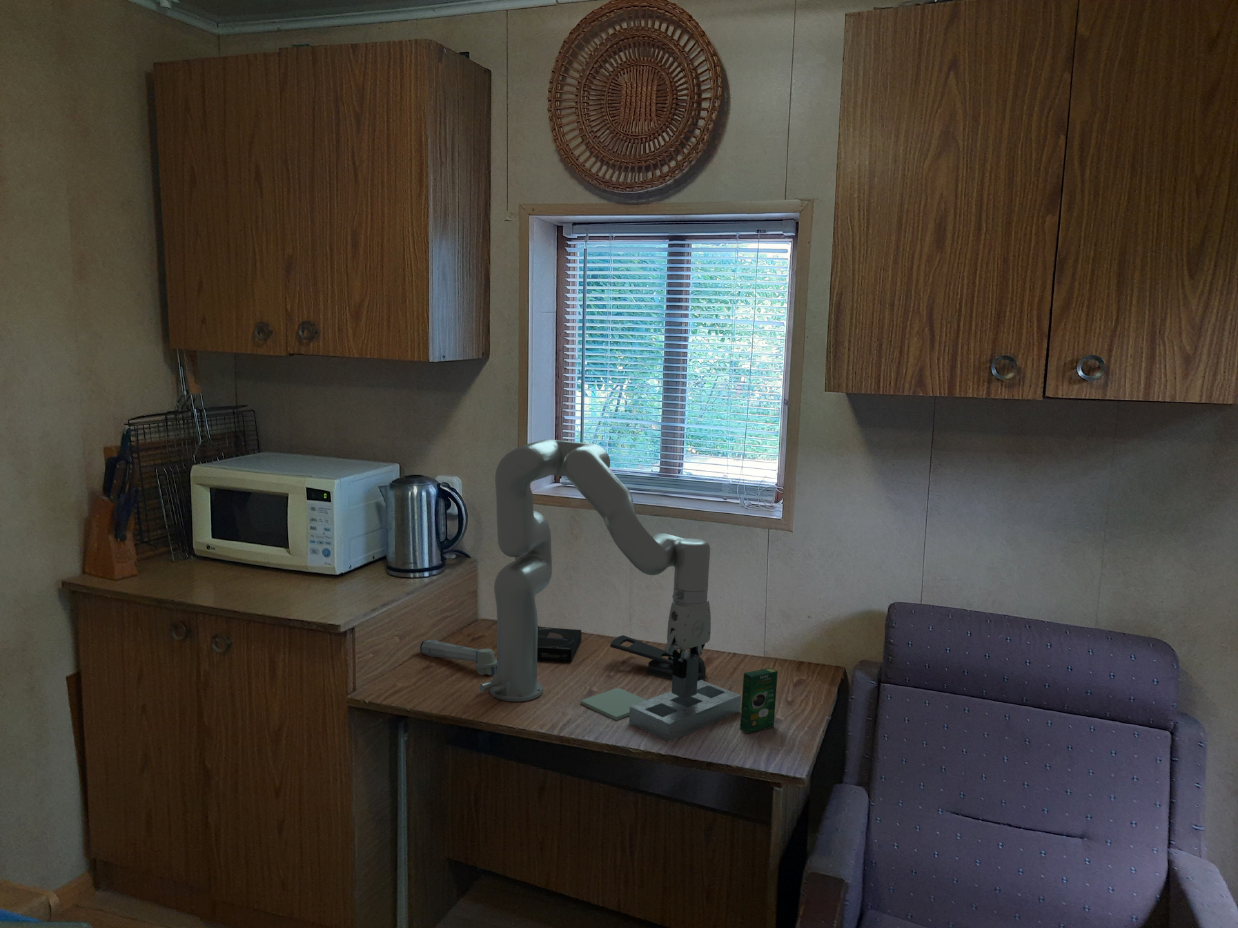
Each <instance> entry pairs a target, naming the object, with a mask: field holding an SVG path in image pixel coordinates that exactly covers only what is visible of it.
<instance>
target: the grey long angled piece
mask: <svg viewBox="0 0 1238 928" xmlns="http://www.w3.org/2000/svg"><path fill="white" fill-rule="evenodd" d="M419 652H420V653H421V654H422V655H423V654H424V656H428V657H431V658H435V657H436V658H442V659H451V660H459V661H467V662H474V667H475V669H476V673H477V674H478V675H479V676H485V675H488V676H493V675H495V674H497V658H495V657H496V656H495V653H494V650H493V649H491V648H481V649H478V648H472V647H468V646H463V645H457V644H452V643H447V642H443V641H439V640H437V639H433V640H430V639H425V640H423V641H422V642H421V643H420V646H419Z"/></svg>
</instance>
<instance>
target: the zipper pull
mask: <svg viewBox="0 0 1238 928" xmlns="http://www.w3.org/2000/svg"><path fill="white" fill-rule="evenodd" d="M623 643H629V644H631V645H629V646H624V645H623ZM610 648H613V649H616V650H619V651H623V652H627V653H630V654H634V655H636V656H640V657H642V658H647V659H649V660H650V661H649V662H648V663H647V664H648V665H647V671H648V674H649V675H651V676H654V677H659V678H663V679H667V680H670V681H672V677H673V674H672V672H673V658H671V655H670V654H669V653H668V652H666V651H665V650H664V649H662V648H659V647H656V646H654V645H651V644H648V643H646V642H643V641H640V640H637V639H635V638H632V637H629V636H626V635H624V634H622V635H619V636H617V637H615V638H614V639H613V640H612V641H611V642H610ZM665 657H667V658H665ZM705 665H706V663H705V661H704V659H702V657H700V661H699V673H698V681H700V680H703V681H704V680H705V679H706V673H707V671H706V666H705Z"/></svg>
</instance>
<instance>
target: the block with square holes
mask: <svg viewBox="0 0 1238 928" xmlns="http://www.w3.org/2000/svg"><path fill="white" fill-rule="evenodd" d="M741 706H742V695H741V694H739V693H736V692H734V691H731V690H729V689H726V688H723V687H721V686H719V685H715V684H713V683H710V682H707V681H704V680H700V681H698V682H697V694H696V695H693V696H691V697H688V698H685V699H684V698H682V697H680V696H677V695H675V694H673V693H672V690H670V691H668V692H665V693H662V694H660V695H656V696H654V697H651V698H648V699H646V700H645V701H643V702H640V703H637V704H635V705H632V706H630V711H629V716H628V717H629V718H628V724H629V725H630V726H631V725H632V726H633V725H634V726H633V727H635V726H636V728H638V729H640V728H642V729H643V731H644V730H646V731H647V733H648V732H650V733H649V734H651V733H652V734H651V735H653V734H654V735H653V736H655V735H656V736H655V737H657V736H658V737H657V738H659V737H661V738H662V739H661V738H660V739H661V740H664V739H665V740H664V741H666V742H668V741H670V742H672V741H674V739H675V740H678V739H680V738H681V737H683V736H687V735H689V734H691V733H694V732H696V731H698V730H701V729H703V728H705V727H708V726H709V725H712V724H714V723H717V722H719V721H722V720H724V719H726V718H729V717H731V716H734V715H736V714H738V713H741ZM642 729H641V730H642ZM646 731H645V732H646Z"/></svg>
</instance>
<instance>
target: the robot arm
mask: <svg viewBox="0 0 1238 928" xmlns="http://www.w3.org/2000/svg"><path fill="white" fill-rule="evenodd" d="M610 467H611V459H610V455H609V453H608V452H607V451H606V449H605V448H604V447H602V446H601V445H599V444H595V443H590V442H589V443H588V442H587V443H586V442H580V441H578V442H577V441H569V440H568V441H567V440H559V439H543V440H538V441H535V442H534V441H533V442H530V443H526V444H523V445H521V446H518V447H516V448H514V449H513V450H510V451H509V452H507V453H506V454H505V455H504V456H503V457H502V458H501V459H500V461H499V462H498V464H497V466H496V470H495V478H494V479H495V480H494V482H495V495H496V498H495V499H496V526H497V528H496V529H497V531H496V533H497V544H498V547H499V549H500V551H501V552H502V553H503V555H505V556H506V557H510V558H514V560H513V561H511V562H510V563H508V564H506V565H505V566H504V567H502V568H501V569H500V570H499V572H498V573H497V575H496V577H495V579H494V586H493V589H494V597H495V603H496V622H497V623H496V630H497V631H496V632H497V633H496V660H497V673H496V674H493V675H492V679H490V680H489V681H488V682H484V683H481V684H479V691H480V692H481V693H484V692H488V691H489V693H490V694H491V696H492V697H493V698H495V699H497V700H501V701H506V702H527V701H532V700H534V699H537V698H539V697H540V696H541V695H542V694H543V693H544V686H543V684H542V682H541V681H538V661H537V645H538V627H539V626H538V625H539V624H538V623H539V622H538V621H539V620H538V619H539V618H538V609H537V604H536V595H538V594H539V593H540V592H541V591H543V590H544V589H546V587H548V585H549V583H550V582H551V579H552V573H553V563H552V561H553V559H552V557H553V555H552V533H551V528H550V525H549V522H548V520H547V519H546V517H545V516H544V515H543V514H542V513H541V512H538V511H536V510H534V496H533V492H532V488H531V484H532V483H533V482H535V481H538V480H541V479H544V478H547V477H549V476H558V477H559V476H560V477H565V478H567V480H568V481H569V483H571V484H572V486H574V487H575V489H576V490H577V491H578V492H579V493H580V494H581V495H582V496H583V497H584V499H586V501H587V502H588V503H589V504H590V505H591V506H592V508H593V509H594V510H595V511H596V513H598V515H600V517H601V518H602V520H603V522H604V525H605V527H606V529H607V531H608V532H609V534H610V536H611V538H612V540H613V542H614V543H615V545H616V546H617V548H618V549H619V550H620V551H621V553H622V554H623V555H624V557H626V559H627V560H628V561H629V562H630V563H631V564H632V565H633V566H634V567H635V568H636V569H637V570H638V571H640V572H641V573H643V574H645V575H648V576H656V575H660V574H662V573H664V572H665V571H666V570H667V569H668V568H670V567H674V574H673V575H674V576H673V577H674V578H673V591H672V592H673V593H672V596H671V597H672V602H671V605H670V608H669V609H670V610H669V614H668V620H667V621H668V622H667V634H666V640H667V641H666V643H665V646H664V648H663V650H665V651H666V652H668V653H669V654H670V655H671V658H673V672H672V674H673V675H674V676H677V677H679V678H681V679H683V678H684V677H685V662H686V661H684V656H685V651H687V650H689V651H688V652H690V653H693V654H695V655H698V656H699V661H700V658H701V656H702V654H703V649H704V647H705V645H706V644H707V643H708V642H709V641H710V640H711V634H712V632H711V631H712V623H711V622H712V617H711V616H712V615H711V613H712V612H711V605H710V604H711V603H710V601H709V600H710V599H708V591H709V590H708V589H709V572H710V558H711V546H710V544H709V542H707V541H706V540H703V539H700V538H694V537H693V538H684V537H681V536H677V535H672V534H669V533H665V532H659V533H656V534H653V535H651V534H650V533H649V532H648V530H647V529H646V528H645V527H644V525H643V523H641V521H640V520H639V518H638V516H637V513H636V512H635V508H634V499H633V496H632V495H633V494H632V492H631V491H630V489H629V488H627V487H626V485H624V483H623V482H622V481H621V480H620V479H619V478H618V477H617V476H616V474H615V473H614V472H613V471H612V470H611V468H610ZM678 650H679V651H678ZM679 653H680V654H679ZM698 673H699V667H698Z"/></svg>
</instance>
